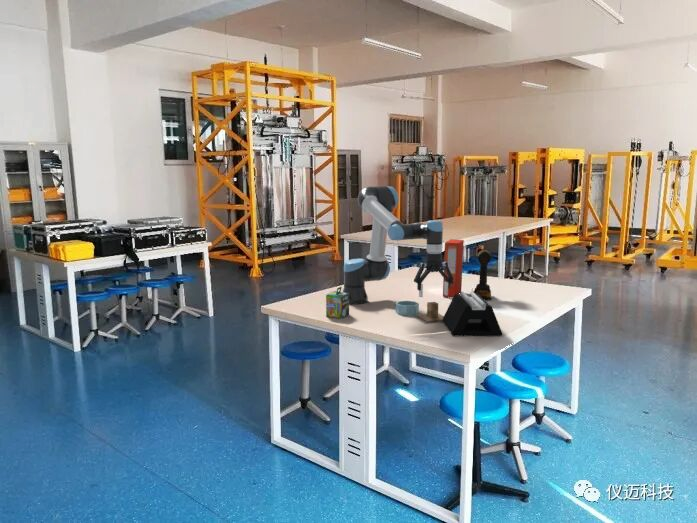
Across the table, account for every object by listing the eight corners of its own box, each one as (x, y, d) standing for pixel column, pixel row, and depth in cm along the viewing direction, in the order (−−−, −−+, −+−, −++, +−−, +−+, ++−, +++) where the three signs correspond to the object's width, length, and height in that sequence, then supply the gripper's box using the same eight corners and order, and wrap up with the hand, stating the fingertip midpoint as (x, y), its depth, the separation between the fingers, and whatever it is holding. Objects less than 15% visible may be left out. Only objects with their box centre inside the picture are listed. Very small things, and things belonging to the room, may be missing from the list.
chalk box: (333, 312, 292) (333, 284, 289) (349, 314, 288) (350, 286, 285) (325, 316, 284) (325, 287, 281) (341, 318, 280) (341, 289, 277)
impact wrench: (470, 299, 322) (472, 251, 317) (472, 292, 342) (474, 246, 337) (495, 301, 318) (497, 252, 314) (495, 293, 338) (497, 247, 334)
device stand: (488, 321, 273) (490, 291, 270) (502, 336, 251) (504, 303, 248) (442, 321, 272) (443, 291, 270) (452, 336, 250) (453, 303, 248)
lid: (426, 322, 270) (427, 306, 269) (416, 316, 281) (416, 301, 280) (449, 321, 274) (449, 304, 272) (437, 315, 285) (438, 299, 284)
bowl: (401, 317, 283) (401, 306, 282) (393, 312, 293) (393, 301, 292) (421, 315, 286) (421, 305, 285) (412, 310, 296) (412, 300, 296)
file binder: (461, 292, 341) (463, 239, 336) (456, 298, 325) (458, 243, 320) (448, 291, 344) (450, 239, 339) (442, 297, 328) (444, 242, 323)
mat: (425, 325, 268) (425, 324, 268) (412, 317, 282) (412, 316, 282) (453, 322, 273) (453, 321, 273) (439, 315, 287) (439, 314, 287)
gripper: (413, 254, 265) (413, 299, 268) (461, 252, 272) (460, 295, 276) (407, 252, 272) (406, 296, 275) (453, 250, 280) (452, 292, 283)
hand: (433, 295), depth 275 cm, fingers open, 13 cm apart
